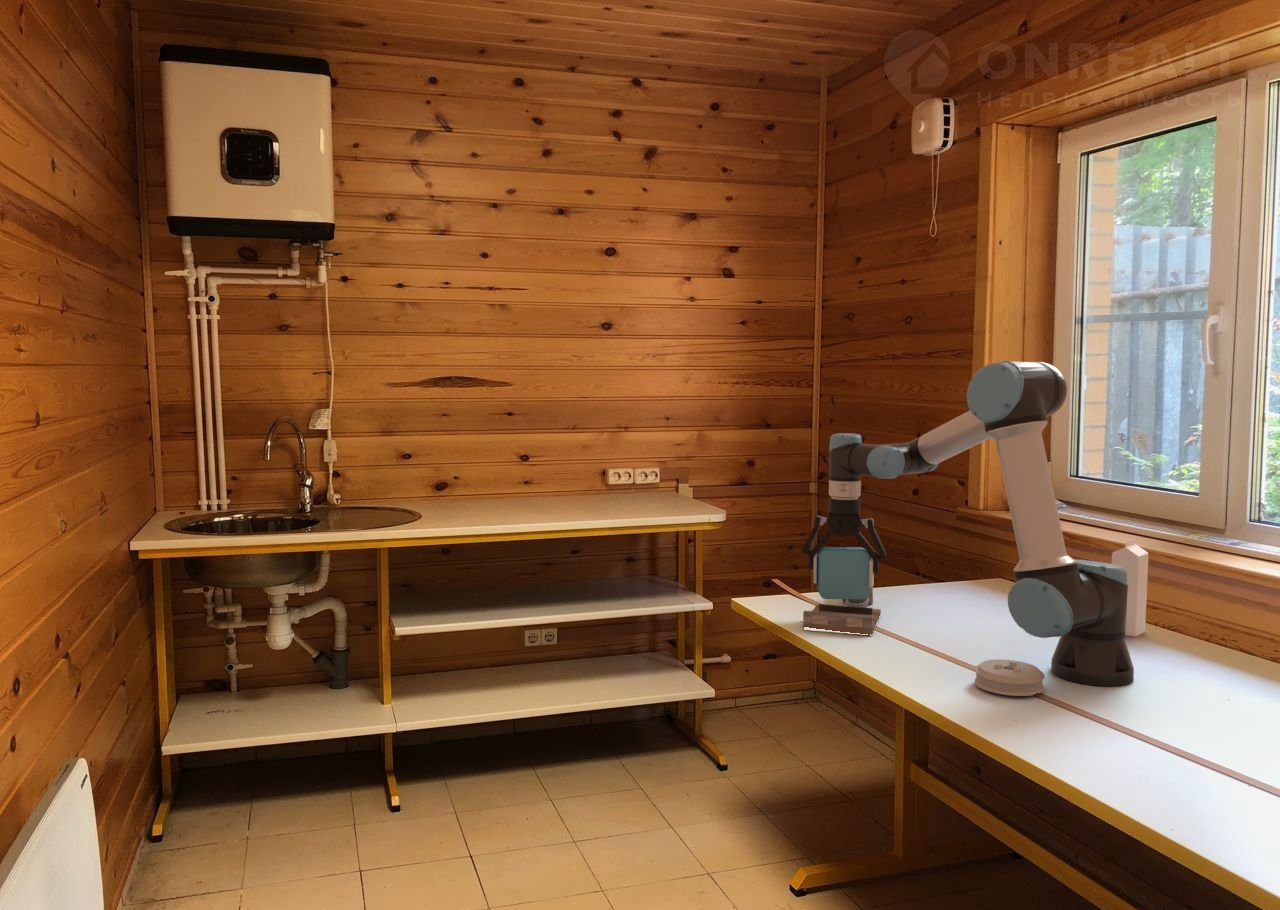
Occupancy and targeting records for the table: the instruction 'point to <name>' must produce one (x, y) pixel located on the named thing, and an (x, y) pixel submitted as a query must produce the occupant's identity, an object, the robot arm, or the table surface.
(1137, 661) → the table surface
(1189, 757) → the table surface
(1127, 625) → the milk
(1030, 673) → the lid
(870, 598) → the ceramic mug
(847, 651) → the table surface
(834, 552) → the teal rounded flat block
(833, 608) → the brown tray
